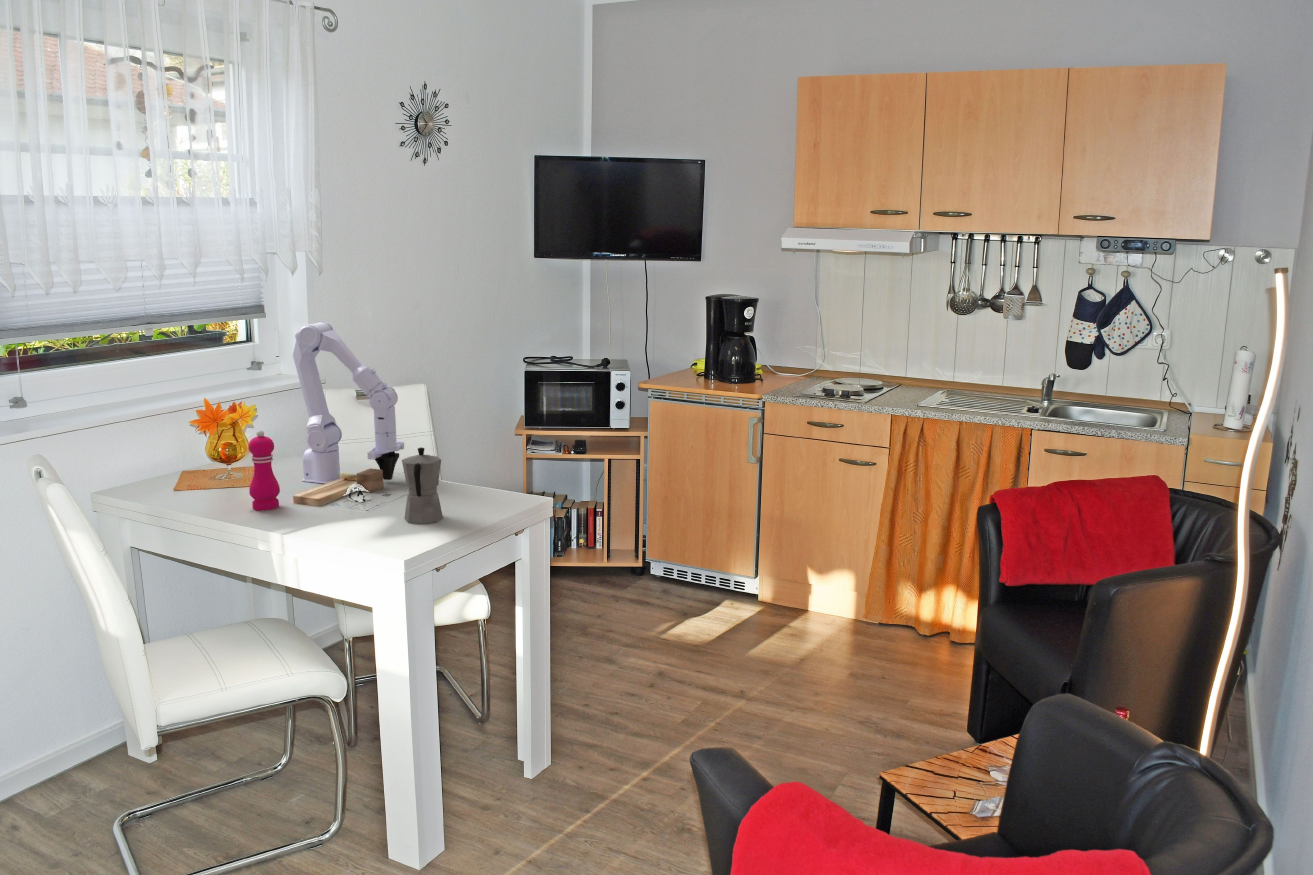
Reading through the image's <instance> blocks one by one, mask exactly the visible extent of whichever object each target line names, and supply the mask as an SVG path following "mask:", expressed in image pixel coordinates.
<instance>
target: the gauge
mask: <svg viewBox="0 0 1313 875" xmlns="http://www.w3.org/2000/svg"><path fill="white" fill-rule="evenodd" d="M340 476H341V478H344V480H346V479H355V480H357V484H360V485H362V486H363V487H364V488H365V489H366V490H368V491H369V492H371V493H373V492H376V491H378V490H380V489H381V490H382V489H383V488H384V479H383V470H380V468H367V469H364V470H362V471H359V472H357V473H356V474H354V473H353V474H352V473H344V472H343V473H340Z"/></svg>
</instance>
